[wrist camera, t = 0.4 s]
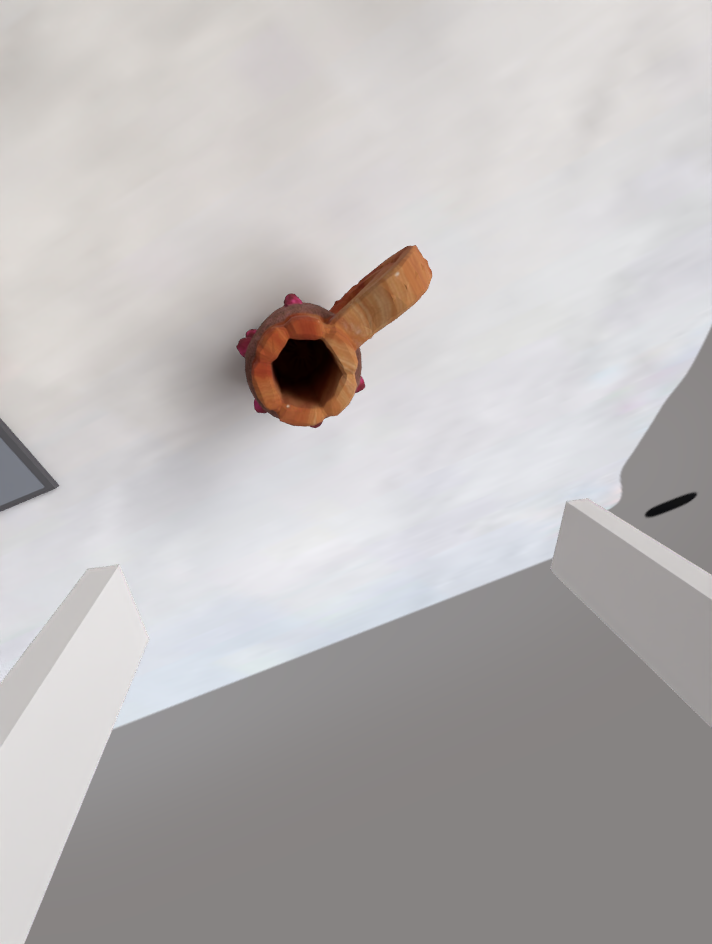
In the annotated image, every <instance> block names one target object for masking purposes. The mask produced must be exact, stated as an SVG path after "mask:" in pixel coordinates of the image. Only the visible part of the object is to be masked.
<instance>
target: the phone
mask: <svg viewBox="0 0 712 944" xmlns="http://www.w3.org/2000/svg"><path fill="white" fill-rule="evenodd" d="M58 486H59V485H58V483H57V482H56V481H55V480H54V479H53V478H52V477H51V475H50V474H49V473H48V472H47V471H46V470H45V469H44V467H43V466H42V465H41V464H40V463H39V462H38V461H37V459H36V458H35V457H34V456H33V455H32V454H31V453H30V451H29V450H28V449H27V448H26V447H25V446H24V445H23V443H22V442H21V441H20V440H19V439H18V438H17V437H16V435H15V434H14V433H13V432H12V431H11V430H10V429H9V427H8V426H7V425H6V424H5V423H4V422H3V421H2V419H1V418H0V511H3V510H5V509H7V508H10V507H12V506H15V505H17V504H19V503H22V502H24V501H27V500H29V499H31V498H34V497H36V496H39V495H41V494H43V493H46V492H48V491H51V490H53V489H55V488H57V487H58Z"/></svg>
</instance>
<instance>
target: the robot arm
mask: <svg viewBox="0 0 712 944" xmlns="http://www.w3.org/2000/svg"><path fill="white" fill-rule="evenodd" d="M550 570H551V571H552V572H553V573H554V574H555V575H556V576H557V577H558V578H559V579H560V580H561V581H562V582H563V583H564V584H565V585H566V586H567V587H568V588H569V589H570V590H571V591H572V592H573V593H574V594H575V595H576V596H577V597H578V598H579V599H580V600H581V601H582V602H583V603H584V604H585V605H586V606H588V608H589V609H590V610H591V611H593V612H594V613H595V614H596V615H597V616H598V617H599V618H600V619H601V620H602V621H603V622H604V623H605V624H606V625H607V626H608V627H609V628H610V629H611V630H612V631H613V632H614V633H615V634H616V635H617V636H618V637H619V638H620V639H621V640H622V641H623V642H624V643H625V644H626V645H627V646H628V647H629V648H630V649H631V650H632V651H633V652H635V653H636V654H637V655H638V656H639V657H640V658H641V659H642V660H643V661H644V662H645V663H646V664H647V665H648V666H649V667H650V668H651V669H652V670H653V671H654V672H655V673H656V674H657V675H658V676H659V677H660V678H661V679H662V680H663V681H664V682H665V683H666V684H667V685H668V686H669V687H670V688H671V689H672V690H673V691H675V692H676V694H678V695H679V696H680V697H681V698H682V699H683V700H684V701H685V702H686V703H687V704H688V705H689V706H690V707H691V708H692V709H693V710H694V711H695V712H696V713H697V714H698V715H699V716H700V717H701V718H702V719H703V720H704V721H705V722H706V723H707V724H708V725H709V726H710V727H711V728H712V575H711V574H709V573H707V572H706V571H704V570H702V569H701V568H700V567H698V566H696V565H695V564H693V563H691V562H690V561H688V560H687V559H685V558H683V557H682V556H680V555H678V554H677V553H675V552H674V551H672V550H670V549H669V548H667V547H665V546H664V545H662V544H661V543H659V542H657V541H656V540H654V539H653V538H651V537H649V536H648V535H646V534H645V533H643V532H641V531H640V530H638V529H636V528H635V527H633V526H632V525H630V524H628V523H627V522H625V521H623V520H622V519H620V518H618V517H617V516H615V515H614V514H612V513H610V512H609V511H607V510H606V509H604V508H603V507H601V506H599V505H598V504H596V503H594V502H593V501H591V500H590V499H588V498H586V499H579V500H572V501H566V505H565V509H564V513H563V517H562V522H561V526H560V530H559V534H558V539H557V543H556V547H555V552H554V556H553V560H552V565H551V569H550ZM148 641H149V636H148V634H147V631H146V629H145V627H144V624H143V622H142V619H141V617H140V614H139V612H138V609H137V607H136V604H135V602H134V599H133V597H132V594H131V592H130V589H129V587H128V585H127V582H126V580H125V577H124V575H123V572H122V570H121V567H120V565H113V566H106V567H99V568H92V569H87V571H86V572H85V573H84V575H83V576H82V577H81V578H80V580H79V581H78V582H77V584H76V585H75V586H74V588H73V589H72V590H71V592H70V593H69V594H68V596H67V597H66V598H65V599H64V601H63V602H62V603H61V605H60V606H59V607H58V609H57V610H56V611H55V613H54V614H53V615H52V616H51V618H50V619H49V620H48V622H47V623H46V624H45V626H44V627H43V628H42V630H41V631H40V632H39V634H38V635H37V636H36V637H35V639H34V640H33V641H32V643H31V644H30V645H29V647H28V648H27V649H26V651H25V652H24V653H23V655H22V656H21V657H20V658H19V660H18V661H17V662H16V664H15V665H14V666H13V668H12V669H11V670H10V672H9V673H8V674H7V676H6V677H5V678H4V679H3V681H2V682H1V683H0V944H24V943H25V940H26V938H27V935H28V933H29V930H30V928H31V926H32V923H33V921H34V918H35V916H36V913H37V911H38V909H39V906H40V904H41V901H42V899H43V896H44V894H45V892H46V889H47V887H48V884H49V882H50V879H51V877H52V874H53V872H54V870H55V867H56V865H57V862H58V860H59V857H60V855H61V853H62V850H63V847H64V845H65V843H66V840H67V838H68V836H69V833H70V831H71V828H72V826H73V824H74V821H75V819H76V816H77V814H78V811H79V809H80V806H81V804H82V802H83V799H84V797H85V794H86V792H87V789H88V787H89V785H90V782H91V780H92V777H93V775H94V773H95V770H96V768H97V765H98V763H99V760H100V758H101V755H102V753H103V751H104V748H105V746H106V743H107V741H108V738H109V736H110V734H111V731H112V729H113V726H114V724H115V721H116V719H117V717H118V714H119V712H120V709H121V707H122V704H123V702H124V700H125V697H126V695H127V692H128V690H129V687H130V685H131V683H132V680H133V678H134V675H135V673H136V670H137V668H138V666H139V663H140V661H141V658H142V656H143V653H144V651H145V649H146V646H147V644H148Z"/></svg>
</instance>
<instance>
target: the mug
mask: <svg viewBox="0 0 712 944" xmlns="http://www.w3.org/2000/svg"><path fill="white" fill-rule="evenodd" d="M431 278H432V271H431V269H430V268H429V266H428V261H427V260H426V259H424V258H423V256H422V254H421V253H420V251H419V250H418V248H417V246H416V245H415V246H407V247H405V248H403V249H402V250H400V251H398V252H397V253H396V254H394V255H393V256H391V257H390V258H388V259H387V260H385V261H384V262H383V263H382V264H380V265H379V266H378V267H377V268H375V269H374V270H373V271H372V272H370V273H369V274H368V275H367V276H365V277H364V278H363V279H362V280H360V282H359V283H358V284H357V285H355V286H353V287H352V288H351V289H350V290H349V291H348V292H347V293H345V295H344V296H343V297H342V298H341V299H340V300H338V301H335V304H334V306H333V307H332V308H331V309H330V310H329V311H328V310H326V309H324V308H322V307H320V306H318V305H315V304H311V303H302V301H301V300H300V299H299V298H298V297H297V296H296V295H295V294H288V295H287V296H286V297H285V300H284V304H285V305H284V306H283V307H281V308H279V309H277V310H276V311H274V312H273V313H272V314H271V315H269V317H268V318H267V319H266V320H265V321H264V322H263V323H262V324H261V326H260V327H259V328H258V330H256V329H251V330H249V331H248V332H246V338H242V339H240V341H239V343H238V345H237V346H236V347H237V349H238V351H239V352H240V354H241V355H242V356H243V357H245V372H246V377H247V382H248V385H249V388H250V390H251V392H252V394H253V396H254V398H255V400H254V407H255V410H256V411H257V412H258V413H267V412H268V413H270V414H271V415H272V416H274V417H276V418H279V419H280V421H282V422H285V423H287V424H290V425H293V426H310V427H313V428H317V427H319V426H320V425H321V424H322V422H323V420H324V419H325V418H327V417H330V416H336V415H338V414H339V413H341V412H342V411H343V410H344V409H345V408H346V407H347V406H348V405H349V403H350V401H351V400H352V398H353V396H354V394H355V393H357V392H359V391H361V390H363V389H364V388H365V384H364V380H363V378H362V377H361V376H360V375H361V368H362V366H361V352H360V348H359V347H360V346H361V345H362V344H363V343H364V342H365V341H367V340H368V339H370V338H372V336H373V335H374V334H375V333H376V332H378V331H379V330H381V329H382V328H384V327H385V326H386V325H388V324H389V323H391V322H392V321H394V320H395V319H397V318H398V317H399V316H400V315H402V314H403V313H404V312H405V311H407V310H408V309H409V308H410V307H411V306H413V305H414V304H415V303H416V302H417V301H418V300H419V299H420V298H421V296H422V295H423V294H424V293H425V292H426V291H427V289H428V286H429V284H430V281H431Z"/></svg>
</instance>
